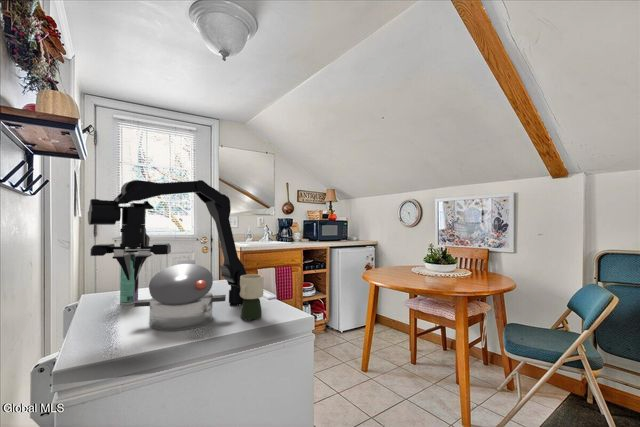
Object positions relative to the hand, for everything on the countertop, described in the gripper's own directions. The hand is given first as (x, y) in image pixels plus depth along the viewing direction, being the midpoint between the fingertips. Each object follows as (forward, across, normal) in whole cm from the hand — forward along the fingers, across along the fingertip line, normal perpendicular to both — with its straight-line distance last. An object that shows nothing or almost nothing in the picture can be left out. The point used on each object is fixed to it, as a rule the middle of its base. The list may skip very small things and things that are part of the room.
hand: (132, 279), depth 85 cm
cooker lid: (+1, -13, -1) cm, 13 cm away
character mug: (+13, -33, +2) cm, 36 cm away
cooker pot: (+13, -13, -1) cm, 18 cm away
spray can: (+13, +8, -26) cm, 30 cm away
